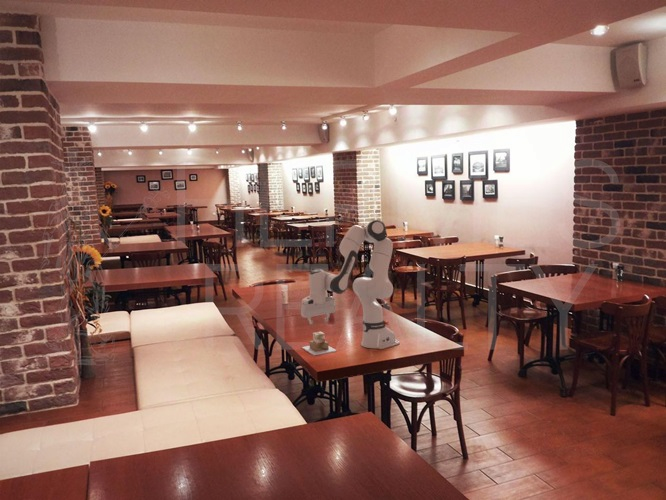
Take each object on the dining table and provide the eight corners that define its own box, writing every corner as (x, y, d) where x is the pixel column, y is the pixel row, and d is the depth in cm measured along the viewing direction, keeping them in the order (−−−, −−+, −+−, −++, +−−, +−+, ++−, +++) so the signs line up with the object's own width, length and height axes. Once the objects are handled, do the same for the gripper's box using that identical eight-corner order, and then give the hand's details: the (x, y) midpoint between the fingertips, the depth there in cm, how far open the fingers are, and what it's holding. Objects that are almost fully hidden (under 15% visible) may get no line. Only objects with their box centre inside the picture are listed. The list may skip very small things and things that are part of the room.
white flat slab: (323, 344, 308) (323, 343, 308) (336, 351, 294) (336, 350, 294) (301, 348, 302) (301, 347, 302) (313, 355, 288) (313, 354, 288)
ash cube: (321, 340, 301) (320, 331, 300) (325, 342, 296) (324, 333, 296) (313, 341, 298) (312, 332, 298) (316, 343, 294) (316, 334, 293)
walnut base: (322, 345, 303) (322, 338, 303) (328, 349, 296) (328, 342, 296) (309, 347, 300) (309, 341, 299) (315, 351, 293) (315, 344, 292)
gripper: (331, 294, 302) (332, 318, 304) (298, 300, 293) (300, 324, 295) (336, 296, 296) (338, 320, 298) (303, 302, 287) (305, 327, 289)
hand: (319, 322), depth 296 cm, fingers open, 8 cm apart
